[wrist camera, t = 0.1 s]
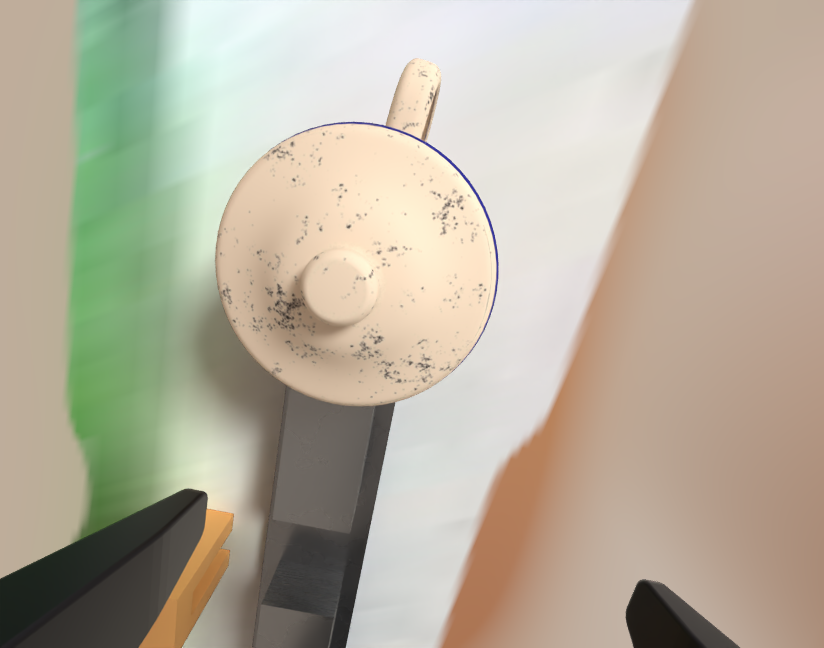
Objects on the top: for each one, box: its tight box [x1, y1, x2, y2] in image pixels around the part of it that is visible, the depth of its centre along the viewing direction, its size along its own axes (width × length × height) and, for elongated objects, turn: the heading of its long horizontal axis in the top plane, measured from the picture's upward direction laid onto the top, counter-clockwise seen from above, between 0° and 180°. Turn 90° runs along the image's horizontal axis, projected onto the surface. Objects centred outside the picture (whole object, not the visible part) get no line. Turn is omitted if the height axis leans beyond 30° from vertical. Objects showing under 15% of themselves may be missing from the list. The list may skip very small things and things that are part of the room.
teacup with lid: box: [215, 58, 498, 406], centre depth 15 cm, size 12×9×12 cm
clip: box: [139, 509, 234, 648], centre depth 23 cm, size 4×3×6 cm
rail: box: [252, 385, 395, 648], centre depth 23 cm, size 20×6×4 cm, turn 169°
